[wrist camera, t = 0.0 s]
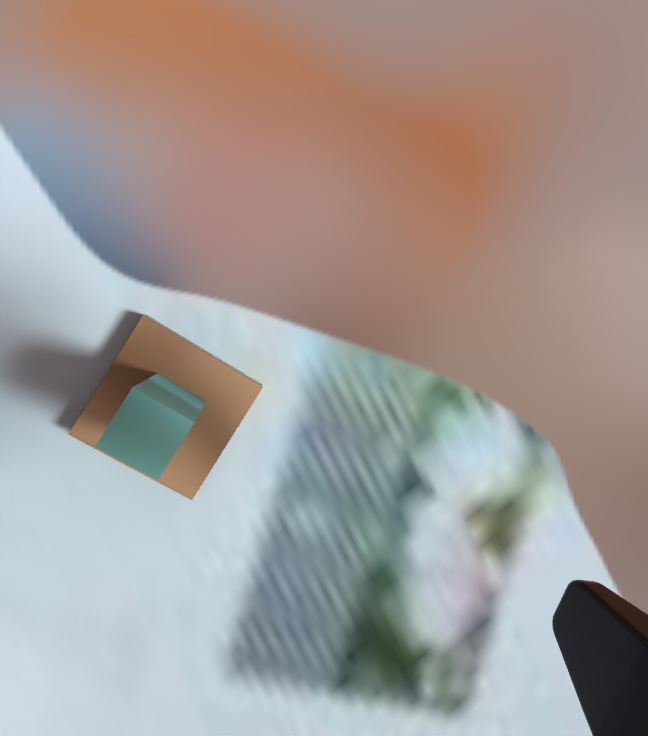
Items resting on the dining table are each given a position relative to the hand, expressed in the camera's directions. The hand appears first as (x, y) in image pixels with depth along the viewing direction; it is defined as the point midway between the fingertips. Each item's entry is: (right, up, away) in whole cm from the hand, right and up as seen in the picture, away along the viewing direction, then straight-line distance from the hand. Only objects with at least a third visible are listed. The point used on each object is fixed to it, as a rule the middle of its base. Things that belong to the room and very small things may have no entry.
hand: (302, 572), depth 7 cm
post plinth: (-7, +1, +15) cm, 16 cm away
